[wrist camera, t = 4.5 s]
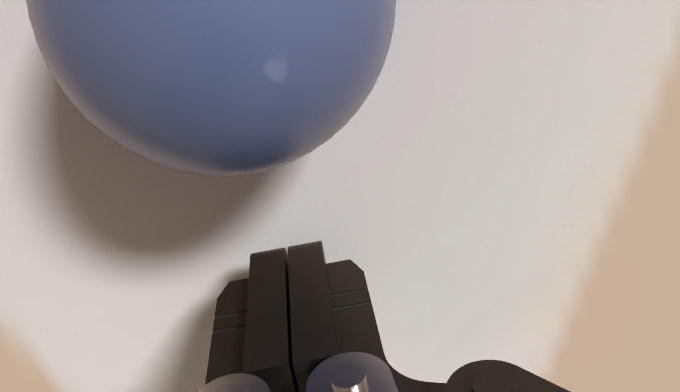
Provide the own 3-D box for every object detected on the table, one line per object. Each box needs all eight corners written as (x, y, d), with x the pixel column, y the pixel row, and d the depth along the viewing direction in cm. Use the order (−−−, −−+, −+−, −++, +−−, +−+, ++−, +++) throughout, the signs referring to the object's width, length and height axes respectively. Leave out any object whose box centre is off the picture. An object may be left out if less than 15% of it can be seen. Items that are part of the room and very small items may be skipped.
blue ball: (44, -152, 10) (-158, -210, 5) (347, -202, 10) (411, -301, 5) (136, 136, 12) (51, 273, 7) (383, 92, 12) (450, 199, 7)
